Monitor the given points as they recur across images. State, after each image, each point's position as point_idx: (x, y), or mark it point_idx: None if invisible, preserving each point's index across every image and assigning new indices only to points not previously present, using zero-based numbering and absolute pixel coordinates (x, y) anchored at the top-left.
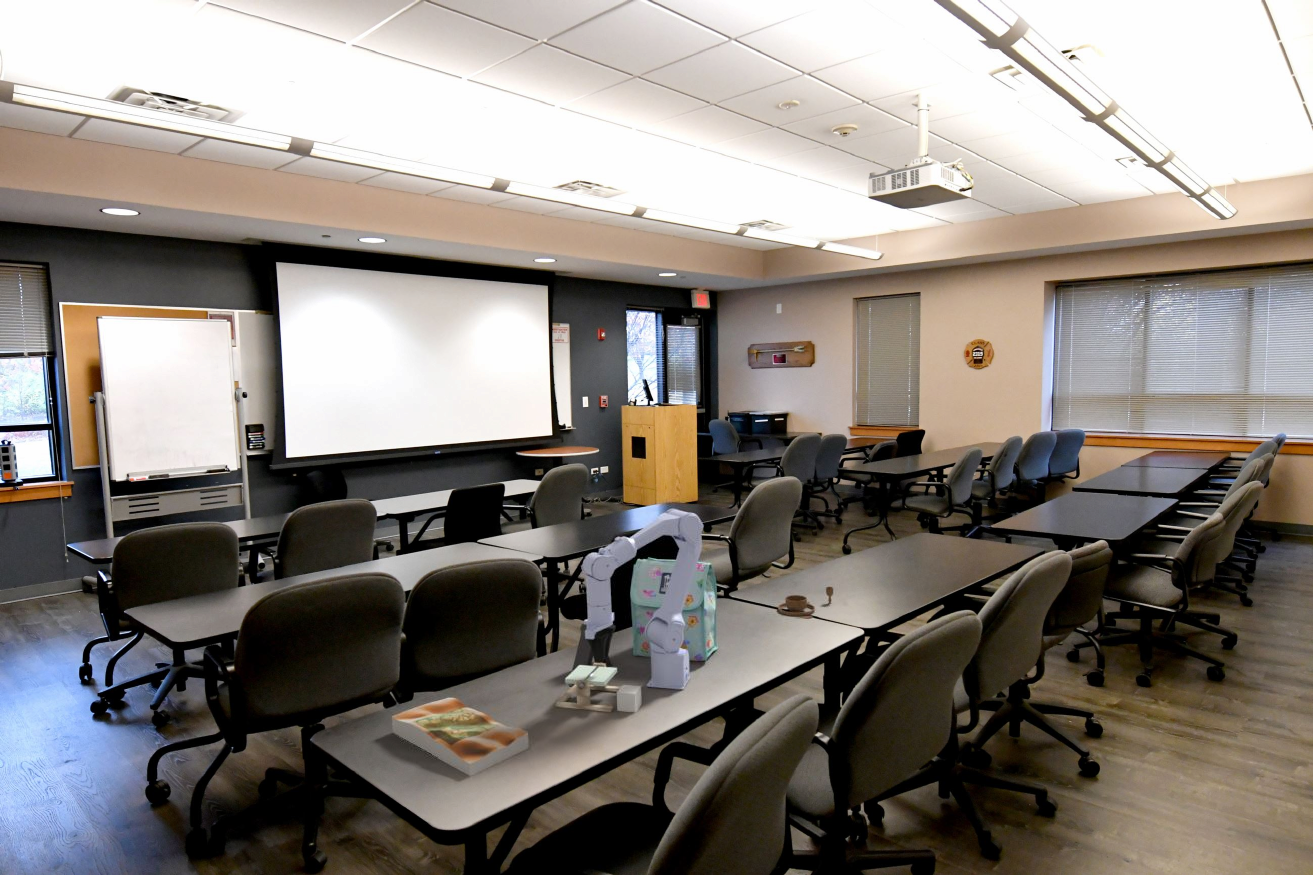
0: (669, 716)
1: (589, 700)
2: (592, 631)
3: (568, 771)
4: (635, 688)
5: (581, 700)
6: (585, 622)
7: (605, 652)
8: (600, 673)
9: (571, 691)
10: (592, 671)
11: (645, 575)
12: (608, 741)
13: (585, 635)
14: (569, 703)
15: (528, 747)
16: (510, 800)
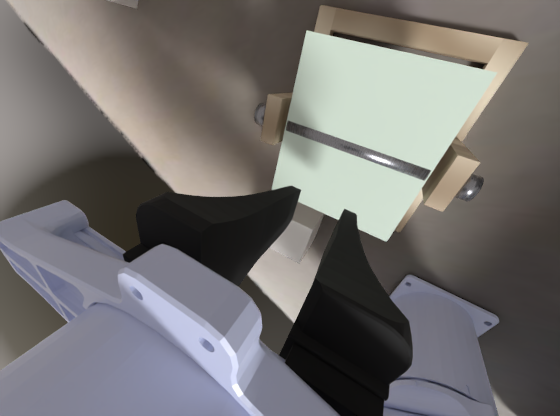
0: (265, 266)
1: None
2: (18, 268)
3: (114, 111)
4: (288, 251)
5: None
6: (129, 279)
7: (328, 243)
8: (342, 182)
9: (421, 45)
10: (367, 152)
11: None
12: (186, 168)
13: (36, 211)
14: None
15: (136, 8)
16: (47, 38)
